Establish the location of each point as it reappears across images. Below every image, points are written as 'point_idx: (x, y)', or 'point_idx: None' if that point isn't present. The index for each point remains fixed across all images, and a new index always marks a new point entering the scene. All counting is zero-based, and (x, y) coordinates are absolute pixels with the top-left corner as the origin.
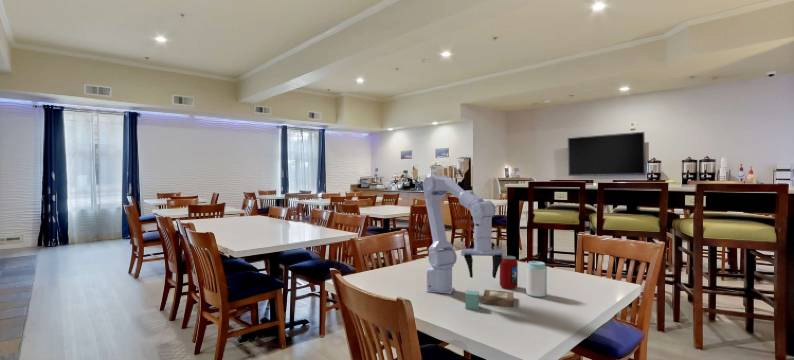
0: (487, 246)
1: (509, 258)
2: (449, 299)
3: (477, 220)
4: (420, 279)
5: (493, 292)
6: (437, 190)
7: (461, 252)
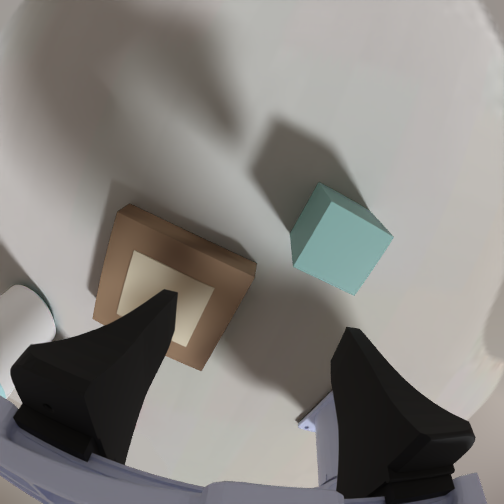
0: None
1: None
2: (377, 331)
3: None
4: None
5: (175, 332)
6: None
7: (484, 498)
